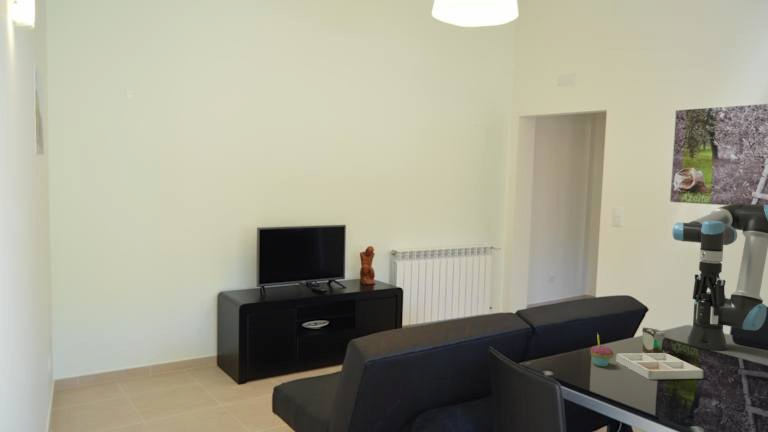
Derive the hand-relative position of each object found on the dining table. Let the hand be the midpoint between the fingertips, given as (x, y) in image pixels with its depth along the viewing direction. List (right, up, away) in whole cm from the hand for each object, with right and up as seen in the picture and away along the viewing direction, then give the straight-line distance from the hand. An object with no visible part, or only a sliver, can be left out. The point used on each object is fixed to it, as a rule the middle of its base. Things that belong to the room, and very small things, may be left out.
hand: (706, 321), depth 225 cm
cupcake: (-40, -17, 0) cm, 44 cm away
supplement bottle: (0, -1, 0) cm, 1 cm away
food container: (-13, -17, +16) cm, 27 cm away
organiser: (-20, -17, -3) cm, 27 cm away
